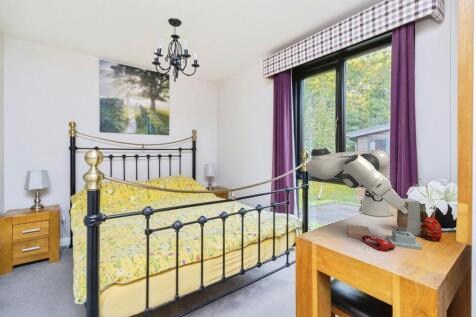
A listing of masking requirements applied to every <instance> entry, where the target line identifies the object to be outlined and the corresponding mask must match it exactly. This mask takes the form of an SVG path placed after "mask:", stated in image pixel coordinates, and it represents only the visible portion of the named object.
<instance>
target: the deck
mask: <svg viewBox="0 0 476 317" xmlns="http://www.w3.org/2000/svg"><path fill="white" fill-rule="evenodd" d="M346 231H347V235H348V238H356V239H362V238H361V237H360V236H362V235H365V234H369V235H371V236H372V237H373V234H372V233H371V230H370V228H369V227H368V226H363V225H354V224H352V225H351V224H346Z"/></svg>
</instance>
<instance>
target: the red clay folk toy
mask: <svg viewBox="0 0 476 317" xmlns="http://www.w3.org/2000/svg"><path fill="white" fill-rule="evenodd" d="M436 206H437V204H435V205H433V206H429V209H430V210H431V209H433V212H432V217H431V218H429V217H425V218H424V221H423V222H422V223H421V224H420V225H421V236H420V237H422V238H424V239H427V240H428V241H430V242H431V241H432V242H437V241H441V240H442V236H443V234H442V233H443V231H442V227H441V223H439V221H438V220H437V219H436V218H435V215H436V213H435V212H436Z"/></svg>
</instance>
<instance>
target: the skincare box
mask: <svg viewBox="0 0 476 317" xmlns="http://www.w3.org/2000/svg"><path fill="white" fill-rule="evenodd" d="M401 199H402V200H403V201H404V202H407V203H408V226H407V228H405V227H398V226H397V231H402V232H410V233H411V234H412V235H413V236H414V237H416V236H417V237H421V225H422V224H421V206H420V205H421V203H420V201H419V200H416V199H413V198H401Z"/></svg>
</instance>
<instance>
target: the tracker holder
mask: <svg viewBox="0 0 476 317" xmlns="http://www.w3.org/2000/svg"><path fill="white" fill-rule="evenodd" d="M360 237H361V238H360V239H361V240H362V242H363V243H364V244H366V245H368V246H369V247H371V248H373V249H375V250H378V251H382V252H385V251H387V250H389V249H395V248H396V247H395V246H394V245H392V244H391V243H390V242H389V241H388V239H384V238H381V237H375V238H374V237H373V235H372V236H371V235H369V234H365V235H362V236H360ZM367 240H369V241H371V242H374V243H377V244H379V245H380V246H379V247H378V246H376V245H373V244H371V243H369V242H368V241H367Z"/></svg>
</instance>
